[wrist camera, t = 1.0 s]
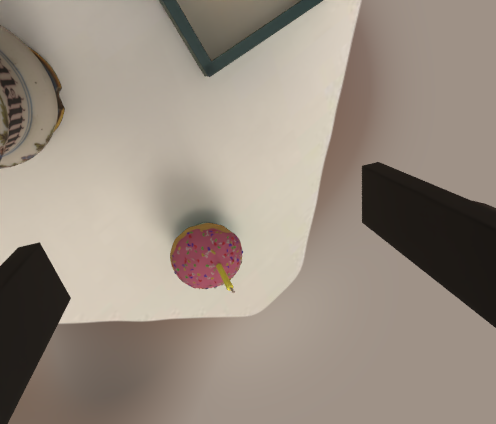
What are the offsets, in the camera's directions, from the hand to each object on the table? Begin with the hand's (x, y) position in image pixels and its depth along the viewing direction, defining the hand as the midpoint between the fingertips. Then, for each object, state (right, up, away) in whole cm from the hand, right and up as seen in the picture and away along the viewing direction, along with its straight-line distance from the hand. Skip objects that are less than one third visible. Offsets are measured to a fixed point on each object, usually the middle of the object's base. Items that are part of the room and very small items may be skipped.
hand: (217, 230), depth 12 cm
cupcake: (-5, -3, +28) cm, 28 cm away
